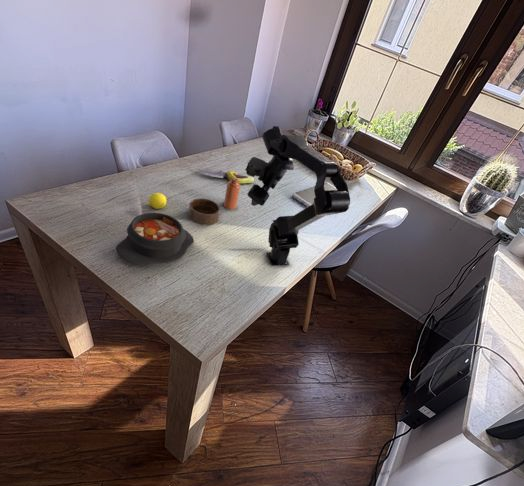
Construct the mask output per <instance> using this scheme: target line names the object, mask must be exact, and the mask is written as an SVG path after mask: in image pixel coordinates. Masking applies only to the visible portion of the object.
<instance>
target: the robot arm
mask: <svg viewBox="0 0 524 486" xmlns="http://www.w3.org/2000/svg"><path fill="white" fill-rule="evenodd" d="M262 140H263V143H264V146H265V149H266V152H267V154H268V155H270V156H272V157H271V159H270V160H269V161H268V162H266V161H265V160H264V159H262V158H259V157H256V156H252V157H251V158H250V160H249V161H248V162H247V165H246V167H245V169H244V171H245V173H246V176H251V177H252V178H254V177H257V180H258V181H259V182H261V183H262V184H263V185H262V186H260V185H259V184H253V185H252V186H251V187H250V189H249V191H247V194H246V195H247V197H248V198H250V199H251V203H250V204H251V205H252V207H254V206H258V205H259V206H262V207H263V206H264V205H265V204H266V202H267V200H268V199H269V197H270V193H269V190H270V189H272V190H274V189H275V188H276V186H277V184H278V183H279V182H280V181H281V180H282V179H283V177H284V176H285V175H286V173H287V171H293V170H294V168H295V165H294V160H295V161H297V162H299V164H302V165H303V166H304V167H305V168H307V169H308V170H310V171H311V172H313V173H314V174H315V177H316V182H315V185H314V187H315V189H314V193H315V198H314V202H313V204H312V205H310V206H309V207H307V206H306V207H305V208H304V209H302V210H300V211H299V212H297V213H295V214H294V215H282V216H281V215H280V216H278V217H277V218H276V219H272V223H270V226H269V228H268V239H267V240H268V243H269V245H268V246H269V248H271V250H270V251H269V252H266V253H265V255H266V256H267V258H268V261H269V263H270V265H271V266H275V267H276V266H289V265H290V261H289V260H288V258H289V254H290V251H291V249H296V248H298V246H299V245H300V243H299V237H298V235H299V232H300V230H302V229H303V228H305V227H307V226H309V225H311V224H313V223H314V222H316V221H318V220H320V219H322V218H324V217H326V216H332V215H338V214H342V213H345V212H347V211H348V210H349V208H350V205H351V197H350V196H351V195H350V192H349V186H348V183H347V182H346V180H345V179H344V178H343V175H342V174H341V172H340V167H339V164H338V163H337V162H335V161H332V160H330V159H329V158H327V157H325V156H323V155H322V154H320V153H319V152H317V151H316V150H314V149H313V148H311V147H310V146H309V145H308V141H307V140H306V139H305V138H304V137H303V135H296V134H282V132H281V128H280V126H279V125H273V126H272V128H270V129H268V130H266V131H265V132H263V134H262ZM326 179H329V180H330V182H331V183H332V184H333V186H334V187H336V189H337V190H325V189H324V183H326Z"/></svg>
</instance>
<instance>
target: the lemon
mask: <svg viewBox="0 0 524 486" xmlns="http://www.w3.org/2000/svg"><path fill="white" fill-rule="evenodd" d="M148 204H149V205H150V207H151V208H152V209H155V210H159V209H163V208H164V207H165V206H166V205H167V197H166V196H165V195H164V194H163V193H161V192H155V193H152V194H151V195H149V197H148Z"/></svg>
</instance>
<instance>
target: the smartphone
mask: <svg viewBox="0 0 524 486" xmlns="http://www.w3.org/2000/svg"><path fill="white" fill-rule="evenodd" d="M314 189H315V186H312V187H309V188H306V189H303V190H300V191H296V192H293V193H292V195H291V196H292V198H294V199H295V200H297V201H298V202H299V203H301V204H303V205H304V206H306V208H307V207H309V206H310V205H312V204H313V202H314V198H315V193H314ZM324 189H325V190H337V189H336V187H335V186H334V185H332V184H330V183H329V182H325V183H324Z"/></svg>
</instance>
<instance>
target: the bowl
mask: <svg viewBox="0 0 524 486" xmlns="http://www.w3.org/2000/svg"><path fill="white" fill-rule="evenodd" d="M187 213H188V214H187V215H188V218H189V219H190V220H191V221H192V222H194V223H196V224H199V225H202V226H203V225H204V226H210V225H215V224H216V223H218V221H219V219H220V214H221V207H220V205H219V204H218V203H217V202H216V201H214V200H211V199H209V198H201V197H199V198H194V199H192V200H190V202H189V205H188V212H187Z"/></svg>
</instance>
